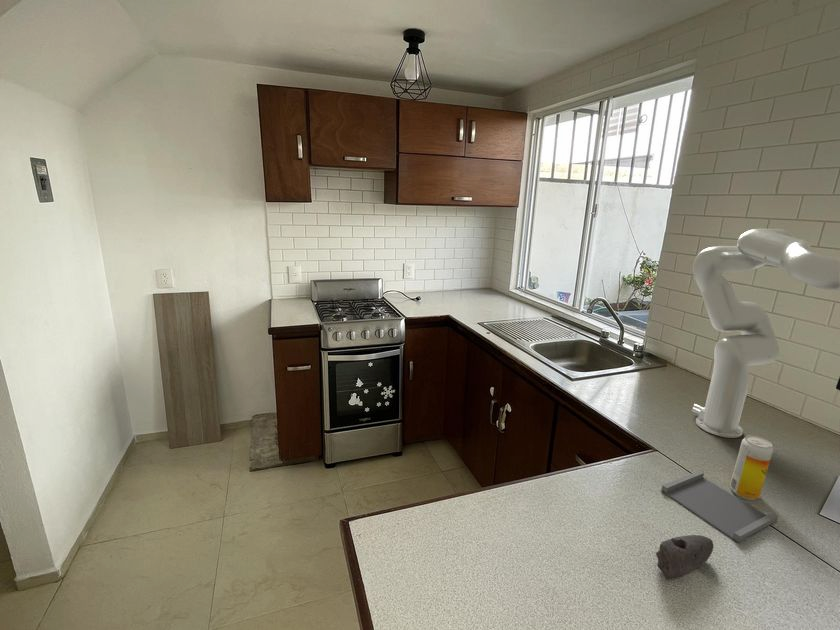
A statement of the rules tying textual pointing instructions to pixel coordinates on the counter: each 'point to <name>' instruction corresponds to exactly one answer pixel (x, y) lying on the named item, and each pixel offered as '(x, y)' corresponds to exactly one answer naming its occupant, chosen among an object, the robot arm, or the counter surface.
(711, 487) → the stand
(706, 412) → the robot arm
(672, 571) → the perforated stone tool
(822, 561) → the counter surface
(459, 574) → the counter surface
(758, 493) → the beer can
